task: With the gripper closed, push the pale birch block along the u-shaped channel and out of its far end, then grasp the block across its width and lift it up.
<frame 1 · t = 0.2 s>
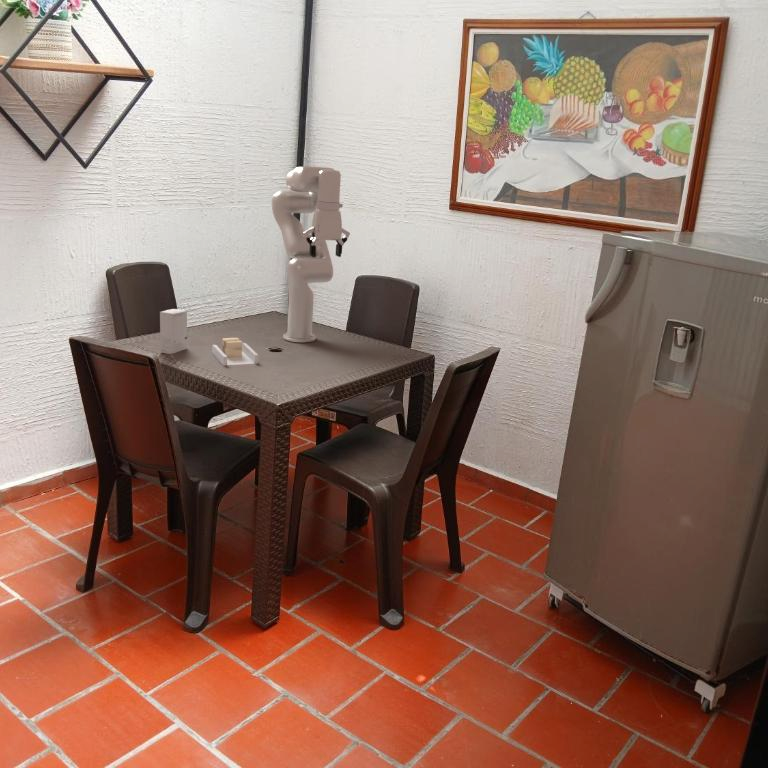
hand: (325, 256, 282), 36 cm above the table, fingers open, 9 cm apart
birch block: (232, 355, 284), point 1 cm above the table, touching u-shaped channel
skincare box: (173, 352, 286), on the table
u-shaped channel: (234, 360, 281), on the table
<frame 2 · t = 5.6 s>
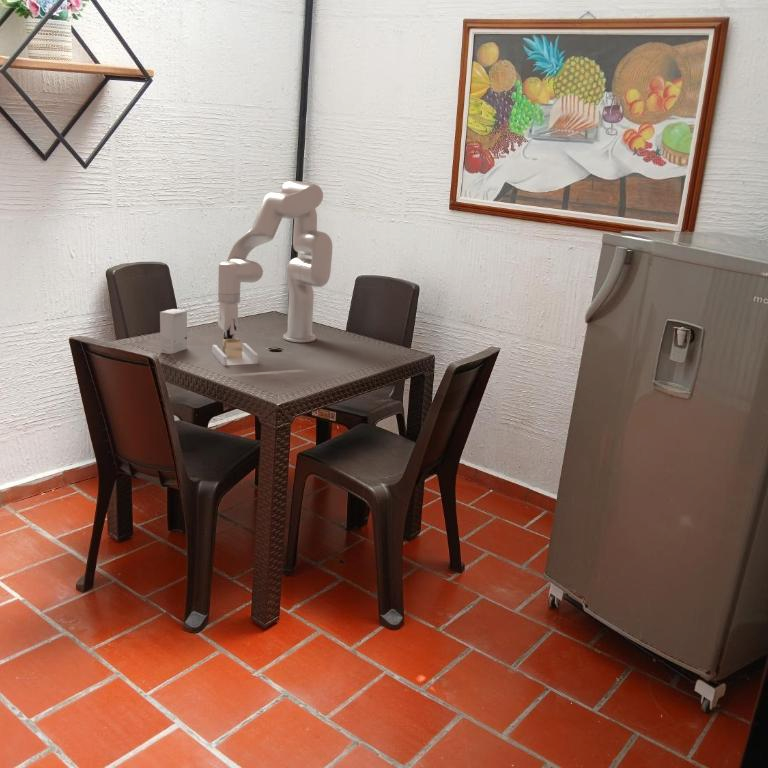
hand: (228, 347, 287), 2 cm above the table, fingers closed
birch block: (232, 355, 283), point 1 cm above the table, touching gripper
everything else where it was.
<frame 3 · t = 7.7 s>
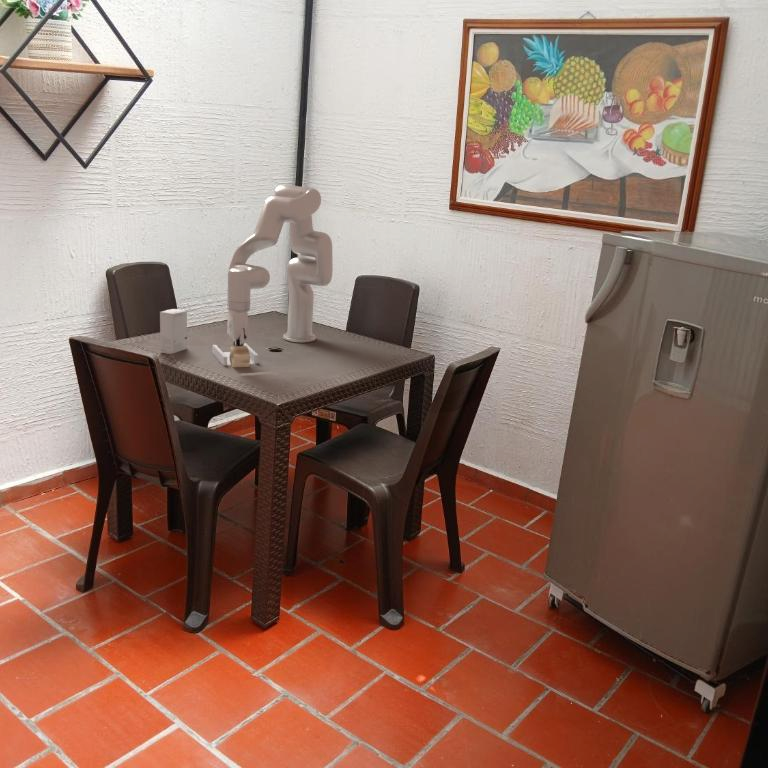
hand: (237, 357, 277), 2 cm above the table, fingers closed
birch block: (238, 363, 274), point 1 cm above the table, tilted 21°
everything else where it was.
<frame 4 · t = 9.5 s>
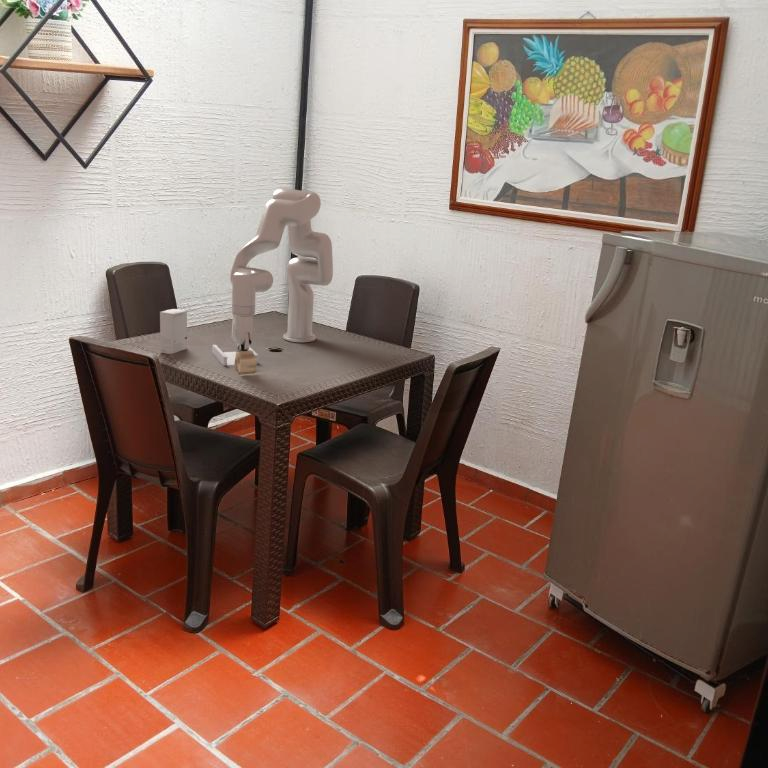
hand: (242, 362, 272), 2 cm above the table, fingers closed
birch block: (244, 369, 269), point 1 cm above the table, tilted 19°, touching gripper
everything else where it was.
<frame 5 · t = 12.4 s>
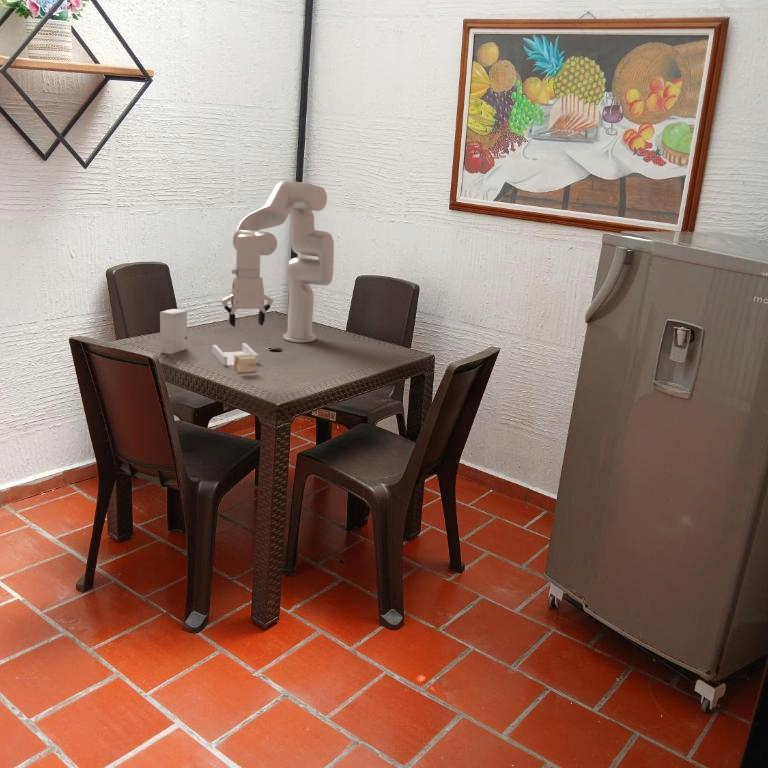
hand: (246, 324, 264), 16 cm above the table, fingers open, 9 cm apart
birch block: (244, 371, 270), on the table
everything else where it was.
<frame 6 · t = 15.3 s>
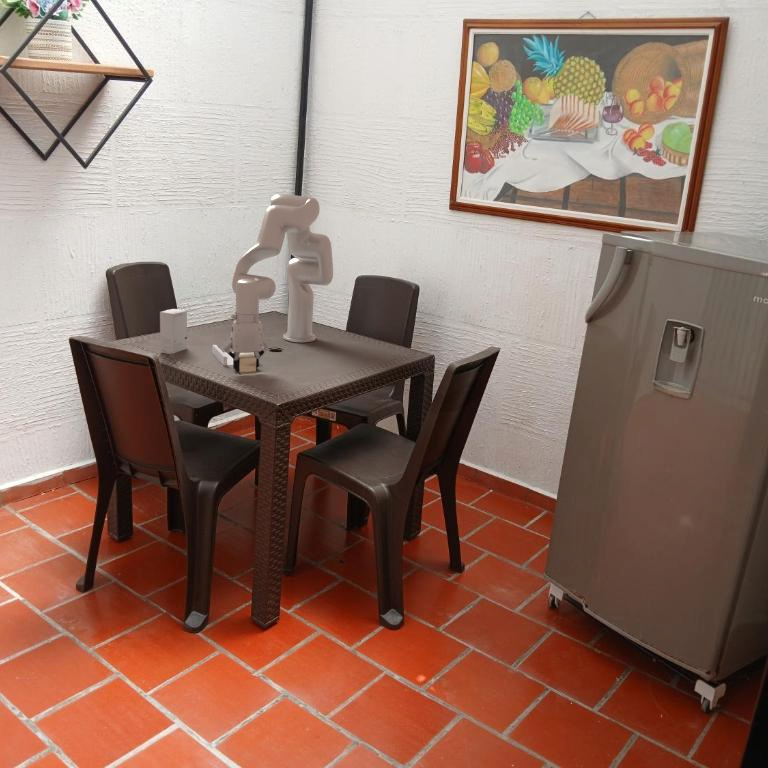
hand: (245, 369, 269), 1 cm above the table, fingers closed on birch block, 5 cm apart
birch block: (245, 371, 270), on the table, touching gripper
everything else where it was.
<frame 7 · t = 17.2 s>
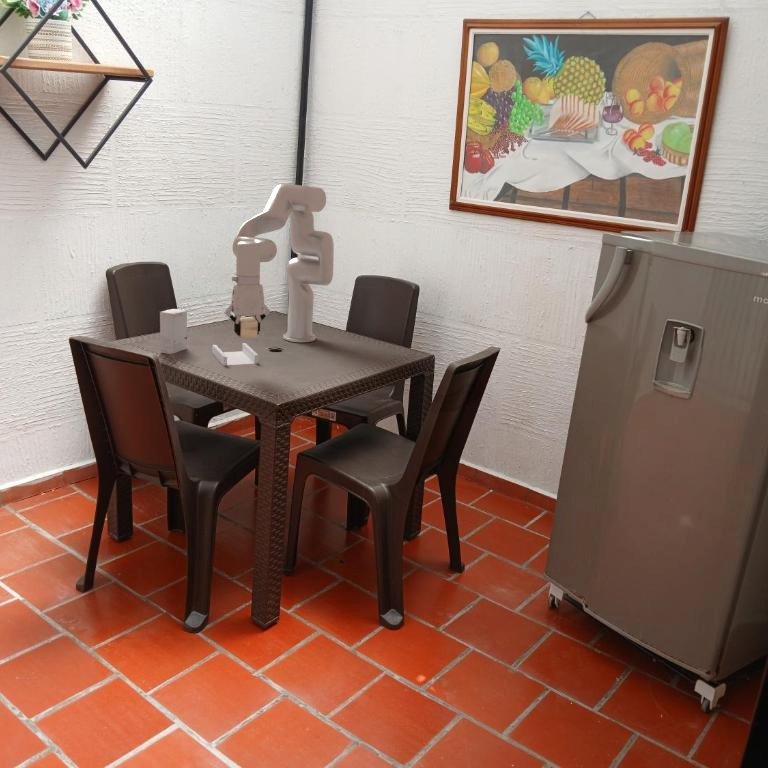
hand: (247, 333, 266), 13 cm above the table, fingers closed on birch block, 5 cm apart
birch block: (246, 335, 266), point 12 cm above the table, touching gripper
everything else where it was.
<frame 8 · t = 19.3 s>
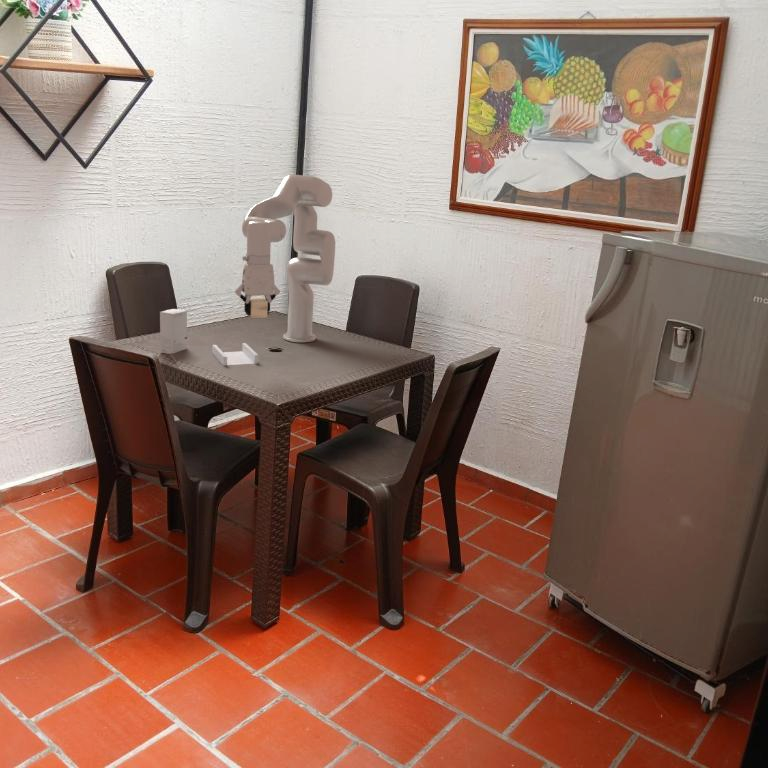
hand: (257, 313, 267), 19 cm above the table, fingers closed on birch block, 5 cm apart
birch block: (256, 315, 268), point 19 cm above the table, touching gripper
everything else where it was.
at the end: the gripper is holding birch block; birch block inside the target area (4.8 cm from its centre), point 18.6 cm above the table; birch block moved 23.2 cm from its start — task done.
